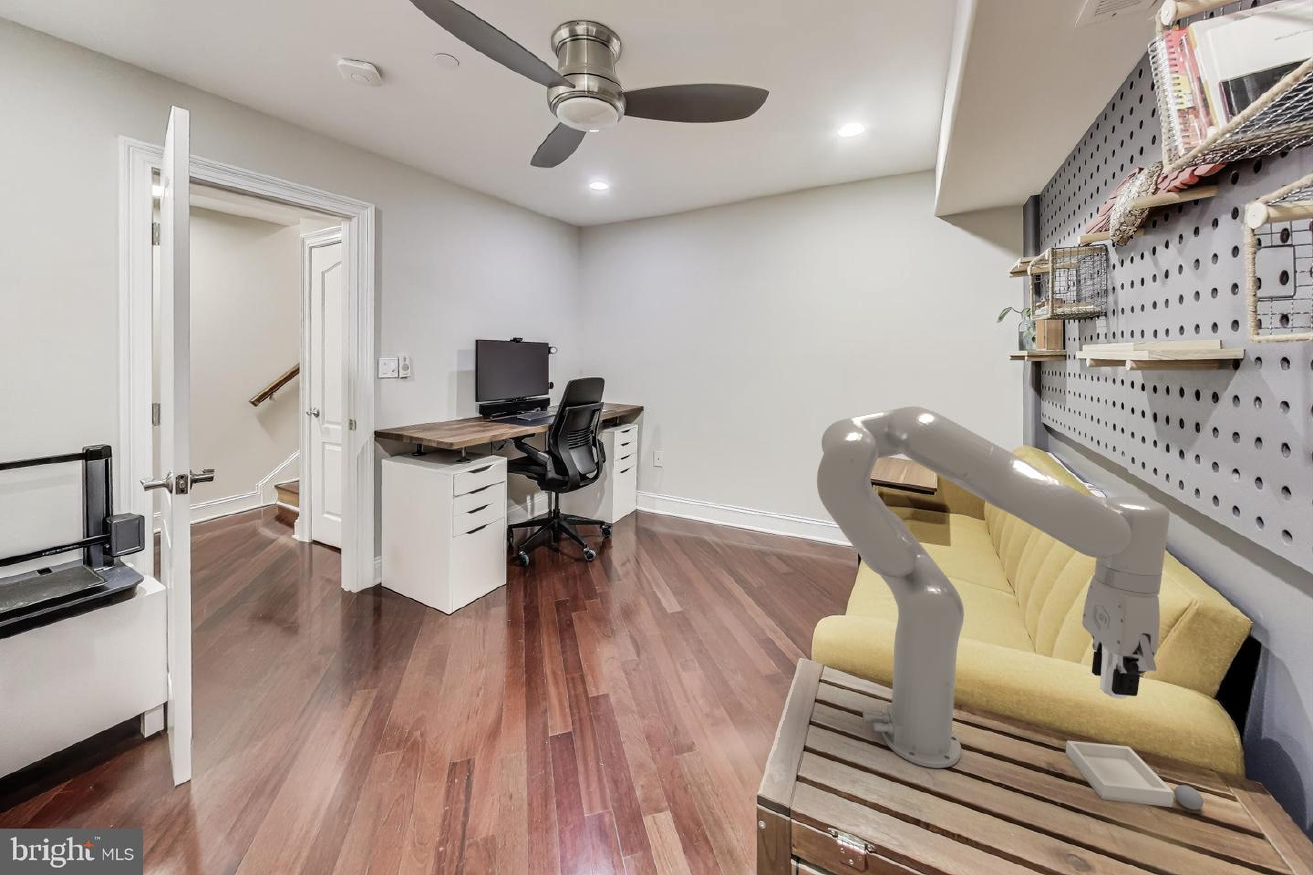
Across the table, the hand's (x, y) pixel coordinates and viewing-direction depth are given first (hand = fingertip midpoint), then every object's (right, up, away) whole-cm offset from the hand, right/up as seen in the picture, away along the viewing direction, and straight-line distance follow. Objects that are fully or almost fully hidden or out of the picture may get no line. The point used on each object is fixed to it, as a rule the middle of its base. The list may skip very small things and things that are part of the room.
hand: (1113, 683), depth 81 cm
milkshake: (0, -2, 0) cm, 2 cm away
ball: (+6, -16, -5) cm, 18 cm away
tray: (0, -15, 0) cm, 15 cm away
